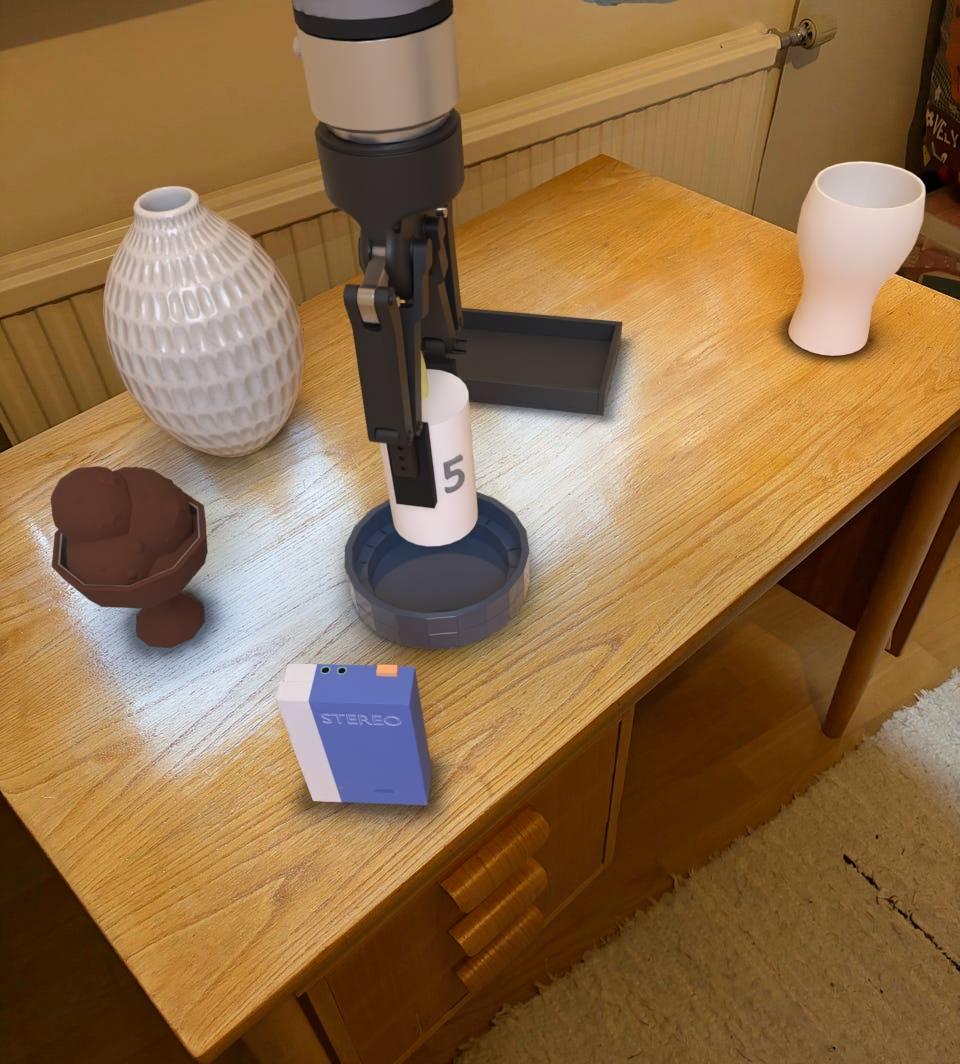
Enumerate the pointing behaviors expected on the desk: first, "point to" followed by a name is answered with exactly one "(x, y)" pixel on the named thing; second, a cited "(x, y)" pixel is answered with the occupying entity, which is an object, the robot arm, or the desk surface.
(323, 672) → the walkman
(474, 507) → the candle
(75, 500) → the ice cream bowl
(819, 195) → the cup
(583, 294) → the desk surface
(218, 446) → the vase
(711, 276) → the desk surface
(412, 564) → the bowl
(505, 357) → the tray
